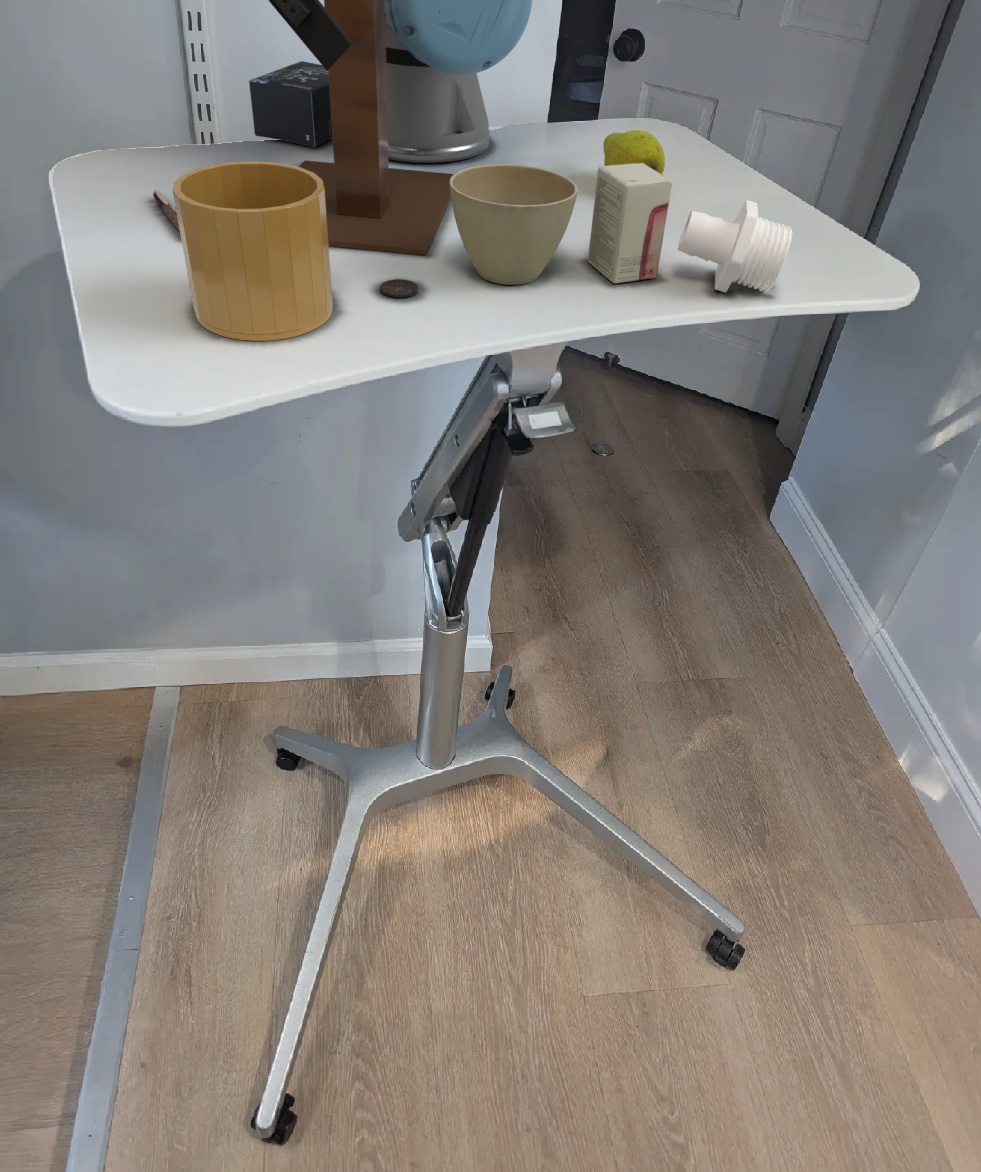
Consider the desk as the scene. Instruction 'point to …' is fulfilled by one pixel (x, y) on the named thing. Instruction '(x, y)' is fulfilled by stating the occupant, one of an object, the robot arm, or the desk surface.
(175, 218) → the pen
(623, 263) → the small box
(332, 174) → the mat
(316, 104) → the box
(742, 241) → the pipe fitting
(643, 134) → the fruit
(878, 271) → the desk surface
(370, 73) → the block
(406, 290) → the coin
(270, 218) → the wooden pot
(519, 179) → the bowl
